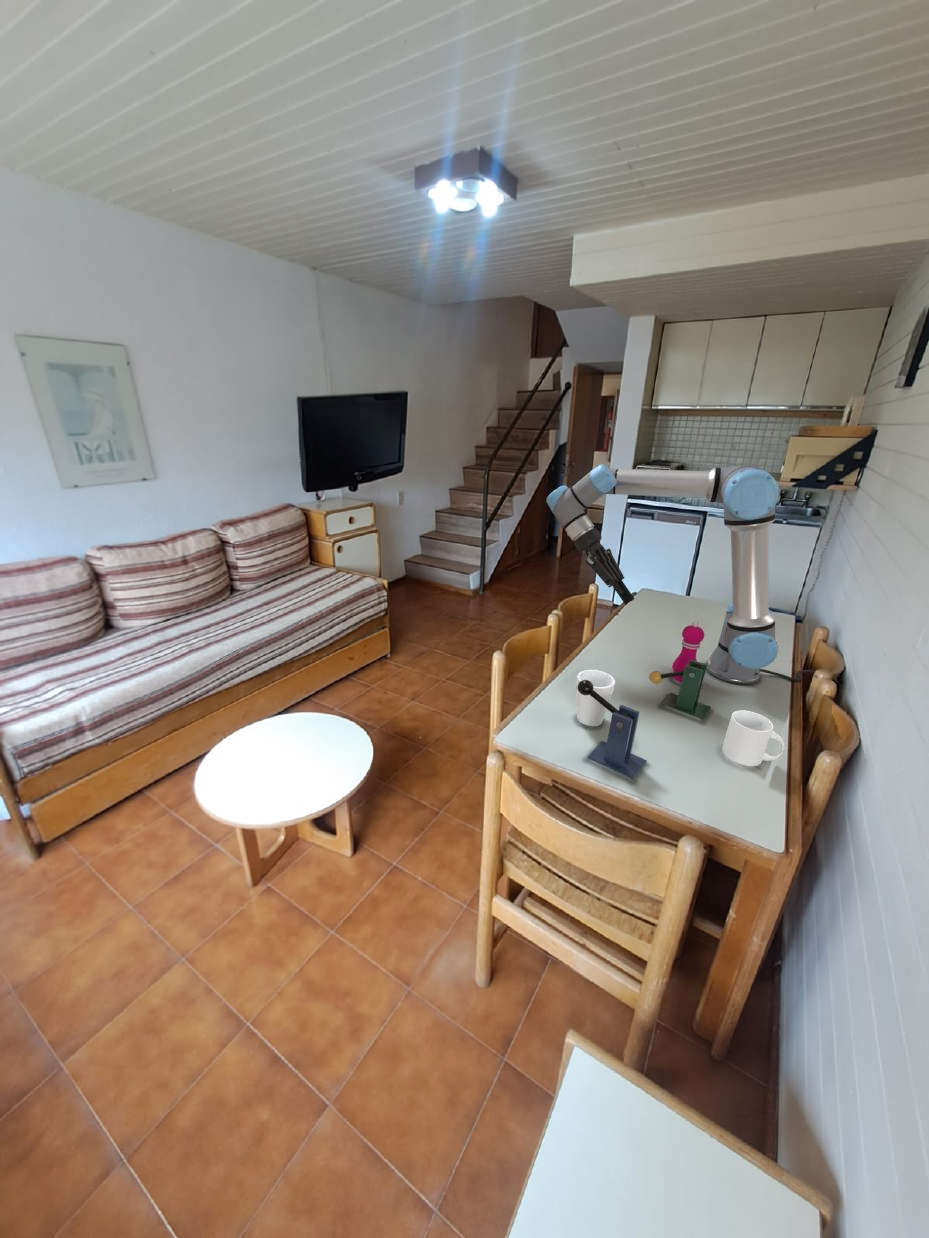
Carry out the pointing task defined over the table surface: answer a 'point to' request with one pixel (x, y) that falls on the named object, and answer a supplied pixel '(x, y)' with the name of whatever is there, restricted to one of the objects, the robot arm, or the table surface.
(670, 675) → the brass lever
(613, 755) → the blue bracket
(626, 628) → the table surface
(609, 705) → the black lever
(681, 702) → the green bracket
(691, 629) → the pepper mill
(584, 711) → the foam cup
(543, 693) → the table surface
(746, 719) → the mug
